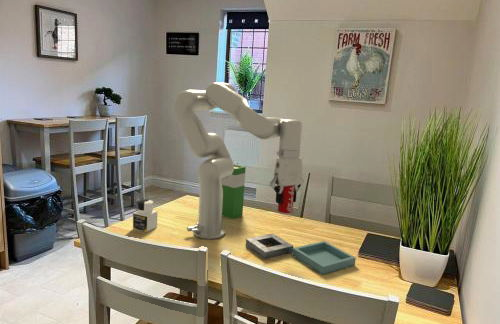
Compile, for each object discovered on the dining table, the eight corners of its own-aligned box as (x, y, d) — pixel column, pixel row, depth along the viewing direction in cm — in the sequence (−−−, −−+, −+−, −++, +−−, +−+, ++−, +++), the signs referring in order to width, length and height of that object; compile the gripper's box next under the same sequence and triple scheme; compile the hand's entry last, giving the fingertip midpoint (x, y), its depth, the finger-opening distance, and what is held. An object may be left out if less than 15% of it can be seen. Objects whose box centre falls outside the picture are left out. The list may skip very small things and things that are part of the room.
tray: (322, 275, 121) (323, 266, 121) (292, 255, 134) (292, 248, 134) (354, 265, 130) (355, 257, 129) (323, 248, 143) (324, 240, 142)
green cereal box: (205, 209, 179) (207, 162, 174) (215, 206, 185) (217, 160, 180) (232, 219, 169) (235, 169, 164) (242, 215, 175) (245, 166, 170)
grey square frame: (264, 259, 130) (265, 252, 129) (245, 245, 140) (246, 238, 140) (292, 253, 137) (293, 245, 136) (272, 240, 147) (273, 233, 147)
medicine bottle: (132, 229, 149) (132, 201, 147) (143, 223, 156) (144, 197, 153) (146, 232, 147) (147, 204, 144) (157, 227, 153) (158, 199, 151)
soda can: (288, 215, 130) (290, 183, 128) (275, 212, 133) (277, 180, 131) (294, 211, 135) (297, 180, 133) (281, 208, 137) (283, 178, 135)
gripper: (276, 156, 122) (272, 208, 125) (314, 154, 131) (310, 202, 135) (263, 153, 128) (260, 202, 132) (300, 151, 137) (297, 197, 141)
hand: (285, 201), depth 133 cm, fingers closed on soda can, 5 cm apart
